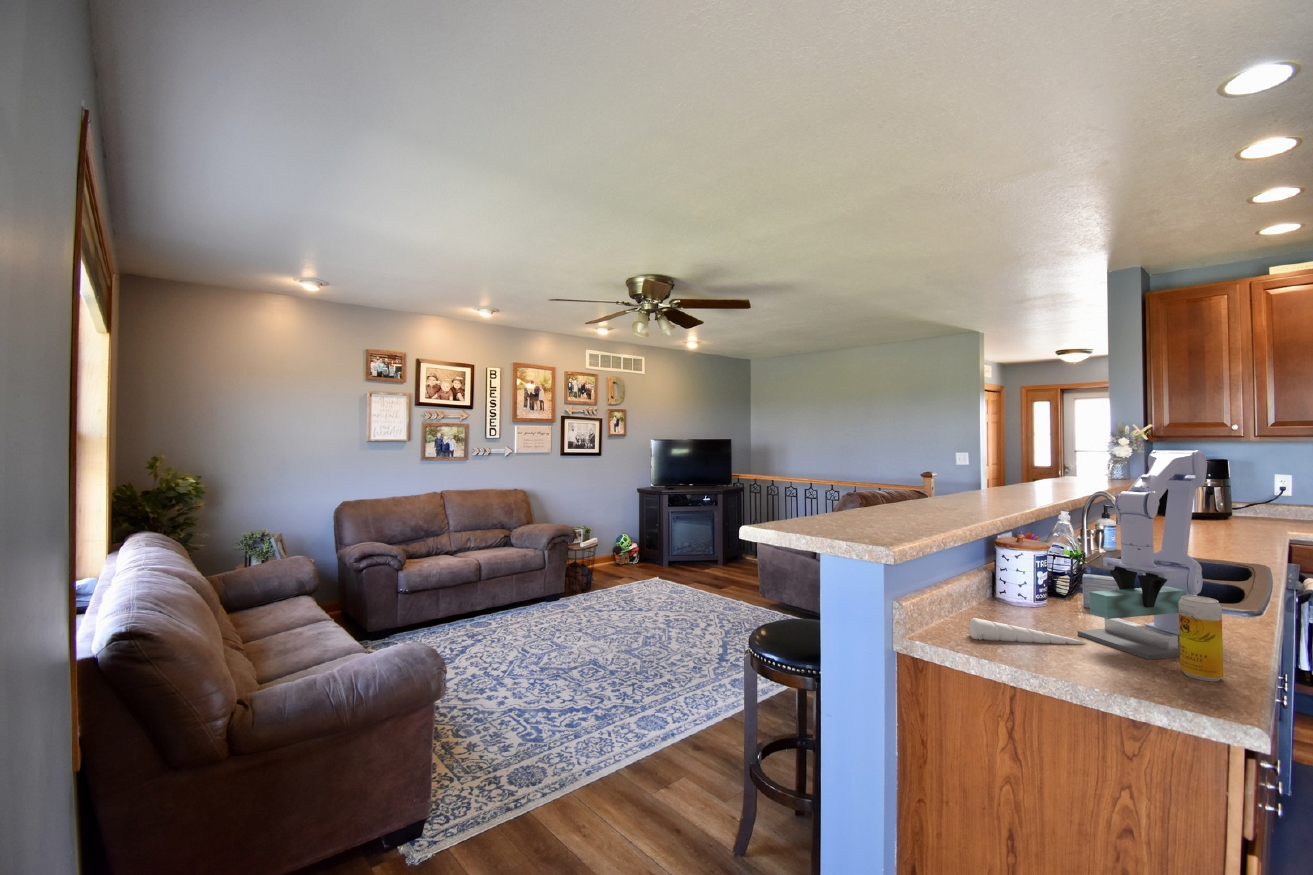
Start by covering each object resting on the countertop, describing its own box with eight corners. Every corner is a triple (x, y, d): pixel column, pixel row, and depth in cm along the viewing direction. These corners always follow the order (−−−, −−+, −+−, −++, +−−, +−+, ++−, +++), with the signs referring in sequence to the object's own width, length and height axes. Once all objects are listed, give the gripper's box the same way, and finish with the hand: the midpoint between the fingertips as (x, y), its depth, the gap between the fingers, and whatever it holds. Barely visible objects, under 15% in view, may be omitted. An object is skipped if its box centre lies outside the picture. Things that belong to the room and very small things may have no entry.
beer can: (1171, 670, 113) (1169, 595, 113) (1199, 669, 114) (1197, 594, 114) (1203, 683, 107) (1201, 603, 107) (1232, 681, 107) (1230, 602, 108)
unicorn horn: (1094, 651, 125) (1093, 629, 125) (973, 642, 131) (973, 621, 132) (1084, 644, 129) (1084, 622, 129) (968, 635, 136) (968, 615, 136)
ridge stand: (1131, 629, 138) (1131, 613, 138) (1208, 653, 122) (1207, 634, 122) (1077, 634, 134) (1077, 618, 135) (1148, 659, 119) (1148, 640, 119)
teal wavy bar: (1167, 607, 133) (1166, 586, 133) (1186, 612, 129) (1185, 590, 129) (1090, 613, 128) (1089, 591, 128) (1107, 618, 124) (1106, 596, 124)
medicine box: (1119, 608, 156) (1118, 577, 156) (1119, 612, 152) (1118, 580, 153) (1083, 603, 161) (1082, 573, 161) (1082, 607, 157) (1082, 576, 157)
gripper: (1092, 540, 135) (1093, 597, 135) (1156, 550, 121) (1158, 614, 121) (1116, 538, 136) (1117, 595, 136) (1182, 549, 122) (1184, 612, 122)
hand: (1138, 604), depth 129 cm, fingers closed on teal wavy bar, 4 cm apart
